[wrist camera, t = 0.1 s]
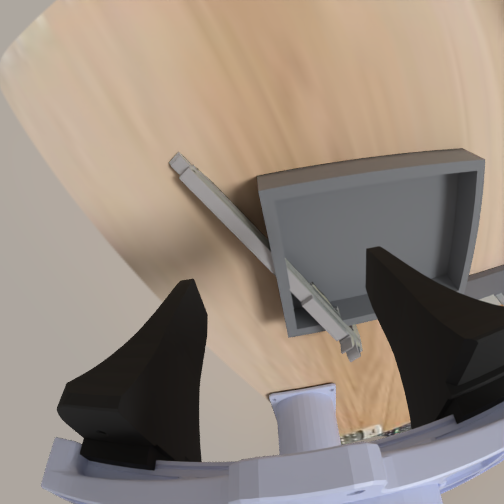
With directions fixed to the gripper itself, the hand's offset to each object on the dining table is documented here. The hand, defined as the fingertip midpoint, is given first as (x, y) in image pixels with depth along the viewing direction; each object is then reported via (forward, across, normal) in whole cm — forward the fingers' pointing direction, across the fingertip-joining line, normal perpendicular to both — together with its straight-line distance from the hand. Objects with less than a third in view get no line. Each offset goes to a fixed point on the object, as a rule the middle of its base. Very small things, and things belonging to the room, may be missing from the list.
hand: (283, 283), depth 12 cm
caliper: (+11, 0, +4) cm, 12 cm away
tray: (+10, -8, +5) cm, 14 cm away
